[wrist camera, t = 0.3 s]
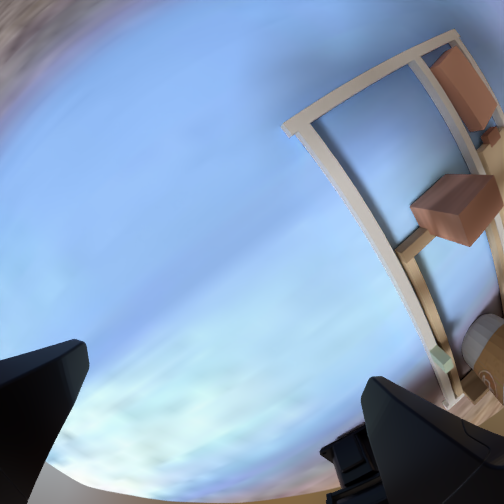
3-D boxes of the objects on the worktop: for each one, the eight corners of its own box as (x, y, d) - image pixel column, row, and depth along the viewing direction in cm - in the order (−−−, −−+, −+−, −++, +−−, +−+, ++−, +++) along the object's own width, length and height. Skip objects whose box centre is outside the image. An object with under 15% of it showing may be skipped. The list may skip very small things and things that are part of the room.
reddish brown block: (482, 107, 18) (497, 104, 16) (467, 132, 19) (483, 130, 16) (442, 53, 17) (456, 45, 14) (424, 73, 17) (438, 65, 15)
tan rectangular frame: (509, 333, 23) (536, 352, 18) (453, 392, 25) (477, 419, 19) (462, 157, 19) (509, 155, 13) (382, 229, 20) (428, 245, 14)
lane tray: (541, 291, 23) (558, 299, 19) (443, 405, 25) (457, 422, 22) (448, 32, 16) (468, 20, 12) (280, 127, 18) (289, 113, 14)
